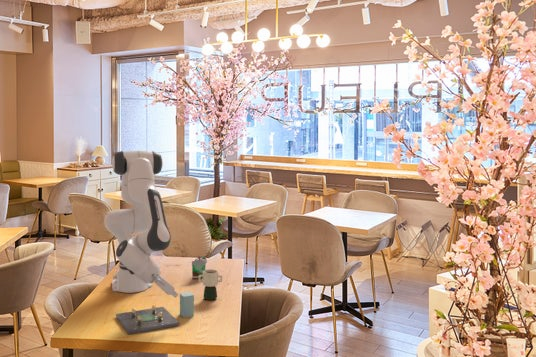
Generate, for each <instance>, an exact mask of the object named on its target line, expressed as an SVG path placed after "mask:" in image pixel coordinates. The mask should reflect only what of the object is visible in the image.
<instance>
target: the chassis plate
mask: <svg viewBox="0 0 536 357" xmlns="http://www.w3.org/2000/svg"><path fill="white" fill-rule="evenodd" d="M115 319H116V320H117V321H118V322H119V324H120V325H121V327H122V328H123V329H124V330H125V332H126V333H127V335H129V336H130V335H135V334H140V333H145V332H151V331H157V330H162V329H168V328H174V327H179V326H180V322H179V320H177V319H176V318H175V317H174V316H173V315H172V314H171V313H170V312H169V311H168V310H167V309H166V308H165V307H164V306H160V307H157V306H156V305H152V306H151V308H147V309H140V310H139V309H138V310H136V308H132V309H131V311H126V312H119V313H115Z"/></svg>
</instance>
